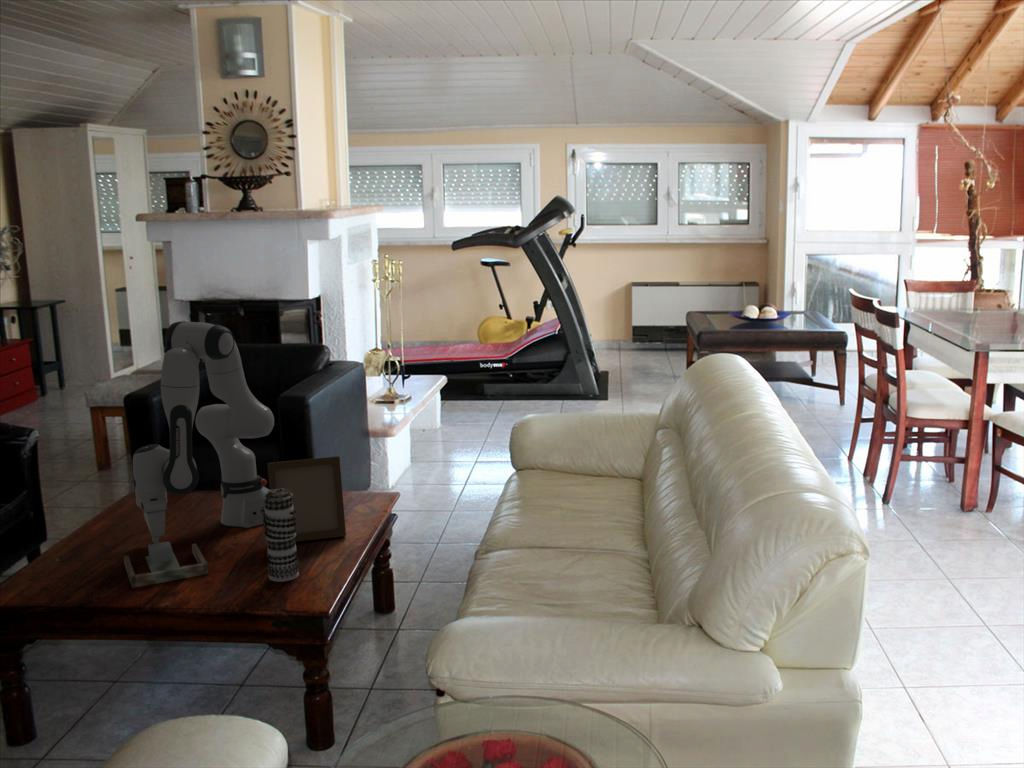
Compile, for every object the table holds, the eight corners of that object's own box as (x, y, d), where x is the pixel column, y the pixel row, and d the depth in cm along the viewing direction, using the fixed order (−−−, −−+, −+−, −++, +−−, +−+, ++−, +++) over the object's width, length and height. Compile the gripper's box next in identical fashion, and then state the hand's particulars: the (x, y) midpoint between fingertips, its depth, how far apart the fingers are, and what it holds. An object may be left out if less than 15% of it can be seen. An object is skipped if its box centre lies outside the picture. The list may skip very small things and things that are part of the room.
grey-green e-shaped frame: (194, 548, 303) (193, 539, 302) (208, 574, 282) (207, 564, 282) (123, 560, 294) (122, 551, 293) (132, 588, 273) (131, 578, 273)
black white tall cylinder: (286, 567, 286) (280, 483, 281) (307, 574, 280) (301, 489, 275) (260, 577, 279) (253, 491, 274) (281, 584, 273) (274, 497, 268)
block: (170, 553, 298) (169, 541, 297) (173, 560, 293) (172, 547, 292) (149, 557, 296) (148, 544, 295) (151, 564, 290) (150, 551, 290)
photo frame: (346, 538, 308) (341, 460, 303) (274, 547, 302) (268, 467, 297) (341, 524, 322) (336, 449, 317) (272, 532, 316) (266, 456, 312)
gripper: (136, 490, 307) (141, 533, 309) (144, 509, 289) (148, 554, 291) (158, 487, 309) (162, 529, 312) (167, 505, 291) (171, 550, 294)
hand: (155, 541), depth 302 cm, fingers closed
